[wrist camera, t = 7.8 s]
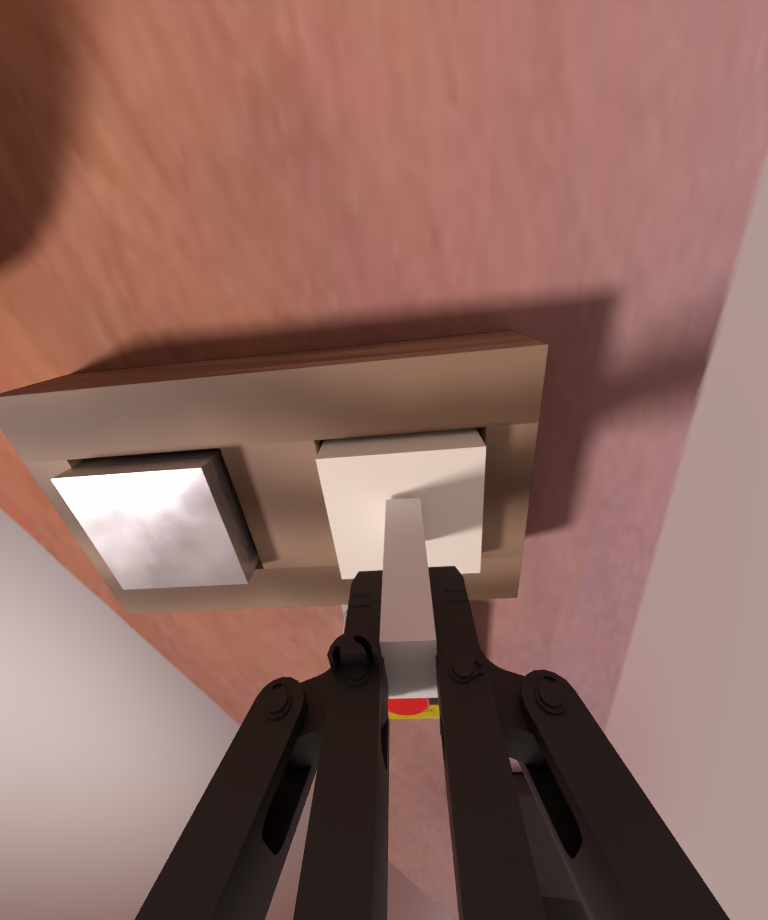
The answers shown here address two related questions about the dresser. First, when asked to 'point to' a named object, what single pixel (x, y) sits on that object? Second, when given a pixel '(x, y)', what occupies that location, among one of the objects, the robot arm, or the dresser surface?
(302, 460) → the brown wooden flat block
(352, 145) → the dresser surface
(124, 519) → the steel key
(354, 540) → the cream key
